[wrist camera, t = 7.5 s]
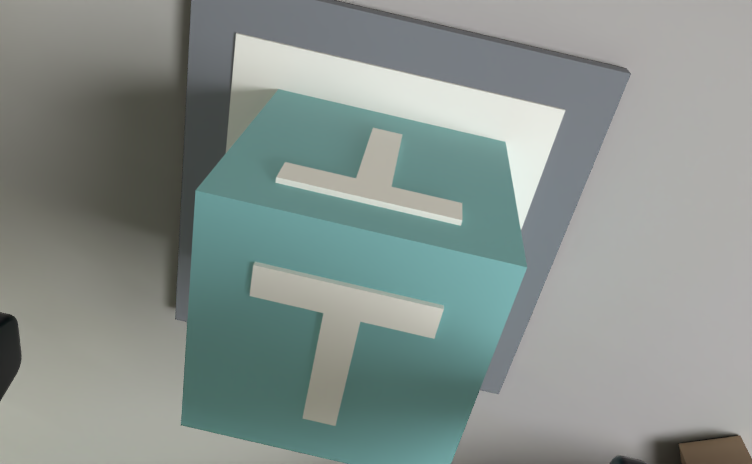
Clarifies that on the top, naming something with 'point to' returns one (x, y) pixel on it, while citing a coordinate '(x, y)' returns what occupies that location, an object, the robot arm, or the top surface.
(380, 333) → the letter cube
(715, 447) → the brown wooden block
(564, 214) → the pad
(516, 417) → the top surface
